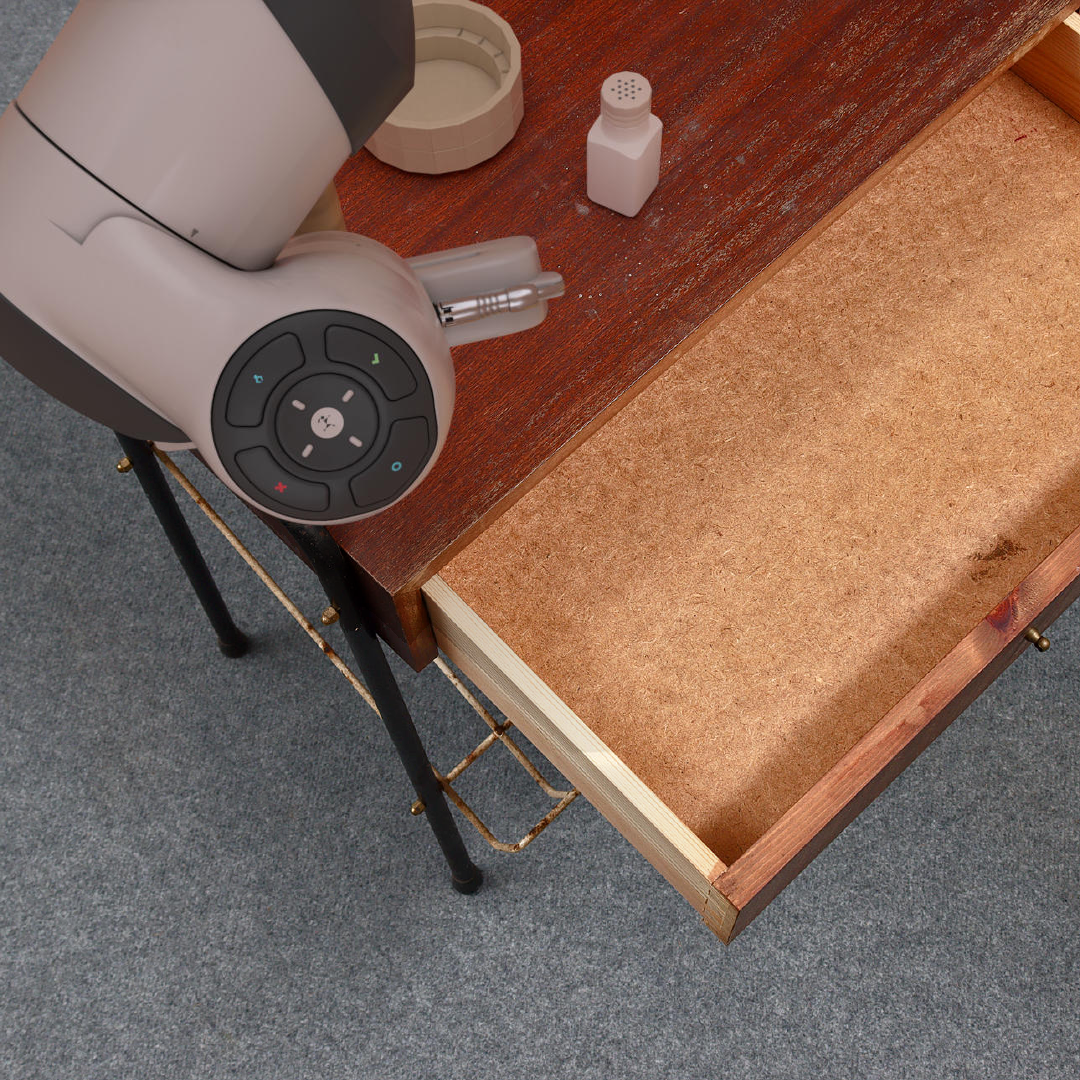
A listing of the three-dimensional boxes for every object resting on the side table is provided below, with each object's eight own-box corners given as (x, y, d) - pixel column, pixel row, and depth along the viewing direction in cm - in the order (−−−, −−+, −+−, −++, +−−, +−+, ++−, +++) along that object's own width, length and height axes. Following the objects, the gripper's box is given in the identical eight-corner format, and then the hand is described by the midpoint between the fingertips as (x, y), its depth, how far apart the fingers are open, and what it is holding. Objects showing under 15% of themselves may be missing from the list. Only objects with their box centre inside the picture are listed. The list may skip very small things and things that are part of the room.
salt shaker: (611, 162, 89) (614, 57, 81) (661, 183, 88) (669, 79, 80) (583, 201, 88) (583, 99, 79) (634, 223, 87) (639, 122, 78)
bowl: (349, 183, 89) (337, 132, 85) (358, 53, 95) (346, -2, 90) (525, 177, 89) (521, 125, 85) (523, 46, 95) (519, -9, 90)
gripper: (559, 214, 53) (519, 196, 66) (75, 316, 52) (131, 277, 65) (585, 359, 55) (542, 314, 69) (121, 461, 54) (166, 395, 67)
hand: (339, 297), depth 67 cm, fingers closed on stirring stick, 2 cm apart
